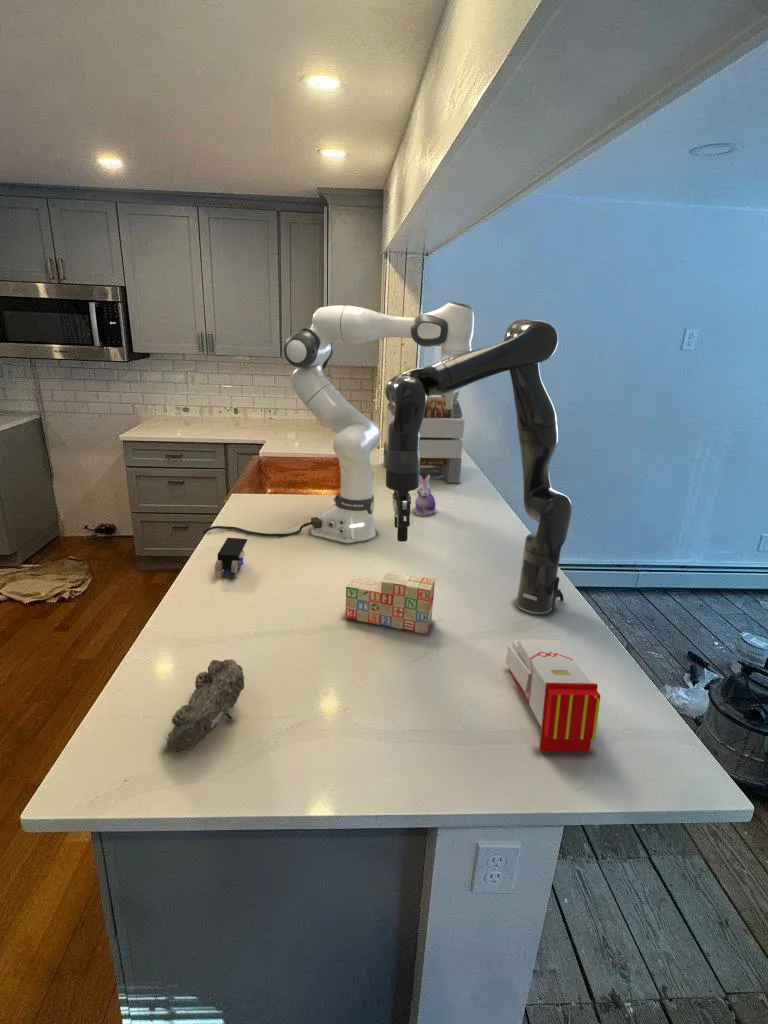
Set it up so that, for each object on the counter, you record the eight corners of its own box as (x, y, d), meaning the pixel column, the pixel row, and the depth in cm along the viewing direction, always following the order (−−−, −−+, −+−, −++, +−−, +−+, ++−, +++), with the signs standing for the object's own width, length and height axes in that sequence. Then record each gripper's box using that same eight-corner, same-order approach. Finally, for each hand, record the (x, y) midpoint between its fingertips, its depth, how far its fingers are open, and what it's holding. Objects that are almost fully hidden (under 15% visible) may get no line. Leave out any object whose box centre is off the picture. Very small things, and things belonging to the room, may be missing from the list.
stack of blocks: (344, 619, 144) (345, 575, 140) (352, 607, 150) (353, 565, 146) (427, 634, 139) (430, 589, 135) (432, 621, 144) (435, 578, 140)
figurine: (420, 518, 216) (423, 480, 210) (407, 509, 224) (409, 473, 219) (441, 515, 220) (444, 477, 215) (427, 506, 228) (430, 470, 223)
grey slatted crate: (382, 463, 289) (386, 382, 275) (445, 464, 293) (451, 384, 279) (390, 482, 257) (394, 392, 243) (460, 483, 261) (468, 394, 247)
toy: (554, 622, 128) (610, 691, 98) (548, 677, 130) (601, 759, 101) (501, 621, 127) (541, 690, 98) (496, 676, 130) (534, 758, 101)
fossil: (192, 660, 117) (244, 628, 112) (224, 691, 120) (276, 661, 115) (142, 746, 98) (202, 712, 93) (182, 779, 101) (242, 748, 96)
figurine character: (238, 584, 162) (249, 557, 175) (236, 562, 158) (247, 536, 172) (215, 584, 161) (227, 556, 175) (212, 561, 158) (225, 535, 171)
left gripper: (450, 357, 179) (447, 401, 184) (438, 362, 161) (435, 410, 165) (470, 358, 178) (466, 402, 183) (460, 363, 159) (456, 412, 164)
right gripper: (423, 476, 120) (420, 546, 126) (415, 458, 134) (413, 522, 139) (388, 476, 120) (386, 546, 126) (384, 458, 133) (382, 522, 139)
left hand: (451, 406), depth 174 cm, fingers open, 8 cm apart
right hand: (400, 533), depth 132 cm, fingers open, 8 cm apart
